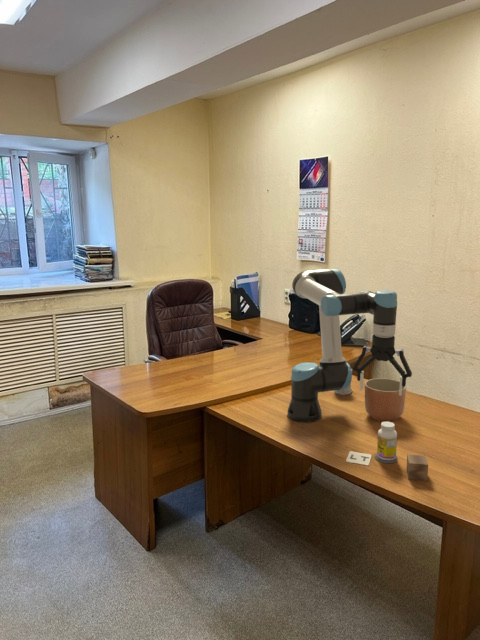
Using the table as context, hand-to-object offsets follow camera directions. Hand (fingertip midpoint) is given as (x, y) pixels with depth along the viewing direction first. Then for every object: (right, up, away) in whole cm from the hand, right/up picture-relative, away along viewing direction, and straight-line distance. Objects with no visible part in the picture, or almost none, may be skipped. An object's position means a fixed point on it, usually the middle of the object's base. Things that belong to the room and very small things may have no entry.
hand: (380, 391), depth 168 cm
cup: (+1, -10, +67) cm, 68 cm away
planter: (+12, -17, +36) cm, 42 cm away
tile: (-7, -25, +2) cm, 26 cm away
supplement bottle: (+3, -24, +2) cm, 24 cm away
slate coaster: (+2, -24, +2) cm, 25 cm away
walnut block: (+9, -27, -10) cm, 30 cm away
